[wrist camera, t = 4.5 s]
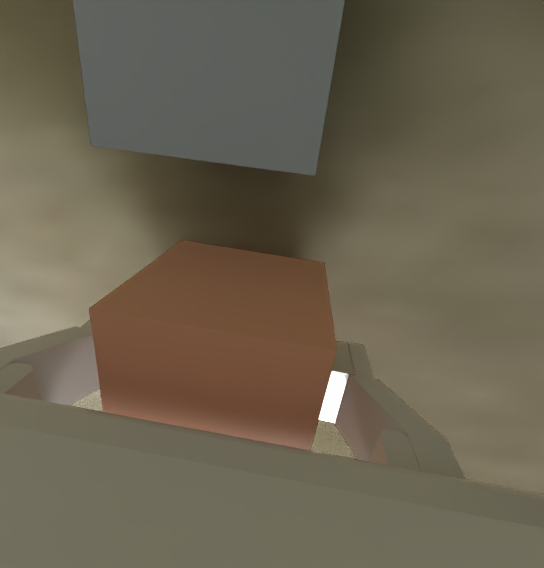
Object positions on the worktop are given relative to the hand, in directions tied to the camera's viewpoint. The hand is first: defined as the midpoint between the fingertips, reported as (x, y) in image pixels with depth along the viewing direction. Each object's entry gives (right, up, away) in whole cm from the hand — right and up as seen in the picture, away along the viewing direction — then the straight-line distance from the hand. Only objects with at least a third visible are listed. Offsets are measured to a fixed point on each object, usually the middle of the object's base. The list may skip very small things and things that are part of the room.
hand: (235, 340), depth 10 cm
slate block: (0, +9, 0) cm, 9 cm away
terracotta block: (0, +1, +2) cm, 2 cm away
